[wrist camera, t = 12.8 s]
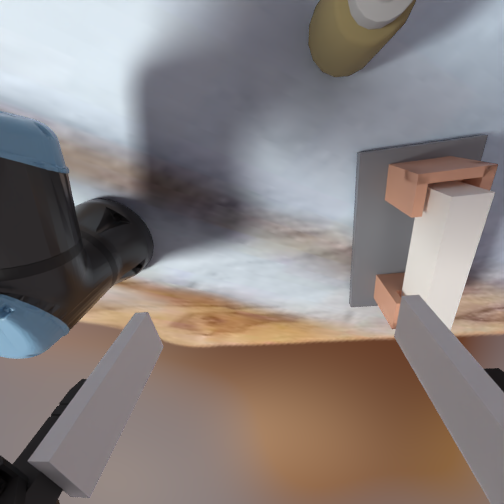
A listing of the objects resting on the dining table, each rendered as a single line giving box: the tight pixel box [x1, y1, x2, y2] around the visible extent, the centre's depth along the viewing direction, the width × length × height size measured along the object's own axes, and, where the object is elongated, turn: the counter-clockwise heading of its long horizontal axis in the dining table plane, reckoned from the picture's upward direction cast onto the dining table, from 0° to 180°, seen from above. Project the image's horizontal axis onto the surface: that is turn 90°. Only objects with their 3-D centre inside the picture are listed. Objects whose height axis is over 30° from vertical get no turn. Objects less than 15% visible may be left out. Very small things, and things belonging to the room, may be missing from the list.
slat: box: [401, 180, 495, 330], centre depth 32 cm, size 4×20×6 cm, turn 8°
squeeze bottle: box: [308, 0, 416, 77], centre depth 21 cm, size 8×8×18 cm
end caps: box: [349, 135, 498, 329], centre depth 36 cm, size 16×28×9 cm, turn 8°
